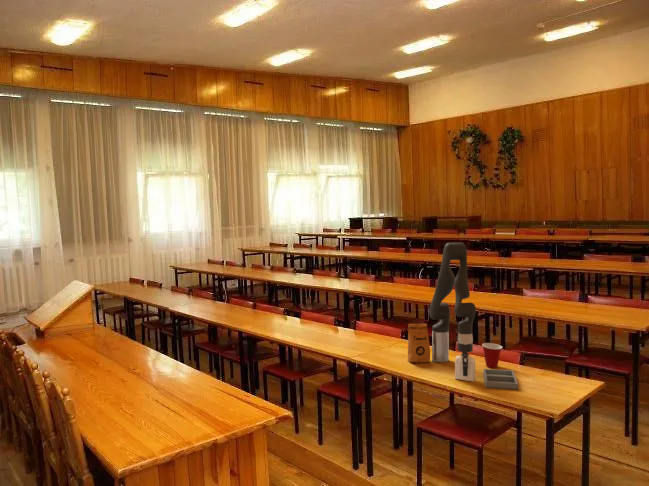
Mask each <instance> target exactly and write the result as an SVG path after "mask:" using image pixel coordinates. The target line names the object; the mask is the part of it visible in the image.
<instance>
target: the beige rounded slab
mask: <svg viewBox="0 0 649 486" xmlns="http://www.w3.org/2000/svg"><path fill="white" fill-rule="evenodd" d="M464 366H467V365H464ZM454 379H455V380H460V381H468V382H475V381H476V359H475V358H474V357H472V356H469V364H468V375H467V376H463V364H462V358H461V355H457V356H456V357H455V362H454Z"/></svg>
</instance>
